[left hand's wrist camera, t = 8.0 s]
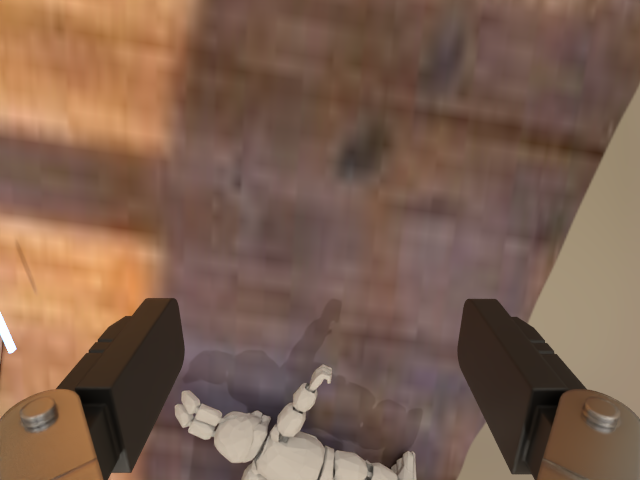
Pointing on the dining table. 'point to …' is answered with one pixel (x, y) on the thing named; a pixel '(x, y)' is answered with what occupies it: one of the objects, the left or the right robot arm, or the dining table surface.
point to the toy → (284, 441)
